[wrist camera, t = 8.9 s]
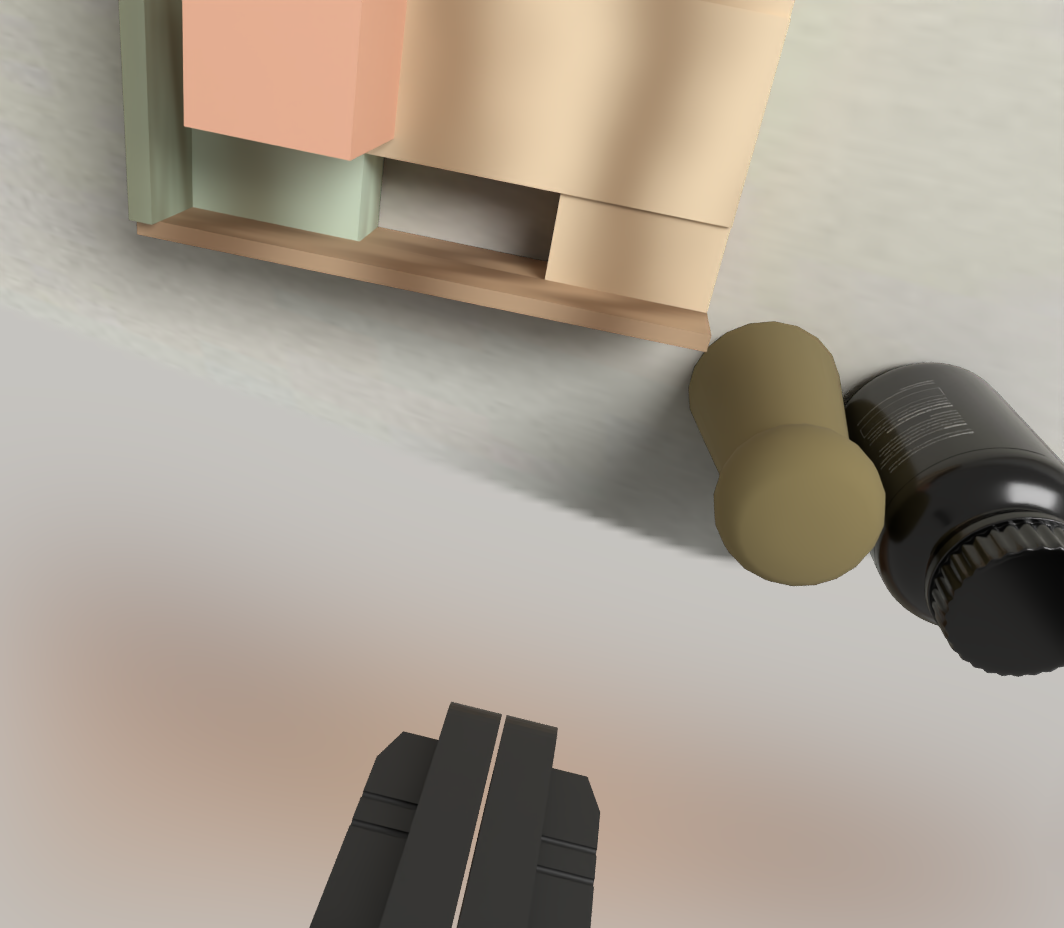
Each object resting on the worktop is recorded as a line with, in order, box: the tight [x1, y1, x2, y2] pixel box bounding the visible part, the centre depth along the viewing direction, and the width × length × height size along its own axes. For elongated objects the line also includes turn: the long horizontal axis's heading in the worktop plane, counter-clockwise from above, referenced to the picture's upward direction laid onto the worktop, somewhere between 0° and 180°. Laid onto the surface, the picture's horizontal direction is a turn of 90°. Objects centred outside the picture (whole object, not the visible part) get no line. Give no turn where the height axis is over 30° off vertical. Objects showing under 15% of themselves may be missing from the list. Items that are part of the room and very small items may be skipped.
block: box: [182, 0, 407, 161], centre depth 26 cm, size 5×5×5 cm
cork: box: [689, 321, 885, 586], centre depth 31 cm, size 6×6×11 cm
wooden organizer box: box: [118, 0, 795, 352], centre depth 29 cm, size 20×14×6 cm
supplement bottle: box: [844, 363, 1064, 677], centre depth 30 cm, size 7×7×12 cm
